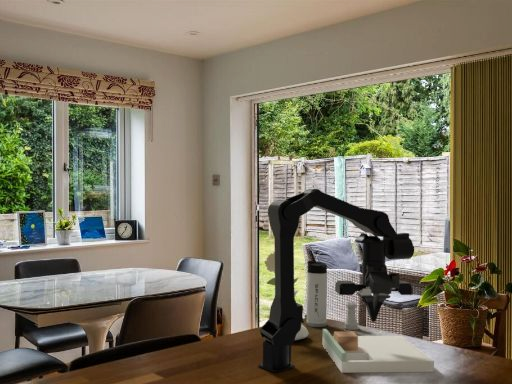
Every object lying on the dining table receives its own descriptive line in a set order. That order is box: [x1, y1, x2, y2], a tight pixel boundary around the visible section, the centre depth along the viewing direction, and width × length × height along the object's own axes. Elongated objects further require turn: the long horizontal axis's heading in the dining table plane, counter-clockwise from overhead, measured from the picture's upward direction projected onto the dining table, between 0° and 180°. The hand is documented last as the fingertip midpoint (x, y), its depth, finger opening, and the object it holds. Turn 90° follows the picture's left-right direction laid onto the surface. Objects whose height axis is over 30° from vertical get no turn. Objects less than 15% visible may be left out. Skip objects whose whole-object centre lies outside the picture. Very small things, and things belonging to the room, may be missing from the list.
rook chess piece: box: [343, 301, 359, 331], centre depth 170 cm, size 4×4×8 cm
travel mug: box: [305, 260, 328, 328], centre depth 174 cm, size 6×7×20 cm
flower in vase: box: [264, 251, 309, 341], centre depth 158 cm, size 13×11×25 cm
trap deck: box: [321, 328, 435, 374], centre depth 140 cm, size 22×23×4 cm
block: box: [333, 330, 359, 351], centre depth 139 cm, size 5×5×4 cm
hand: (373, 321), depth 140 cm, fingers closed
